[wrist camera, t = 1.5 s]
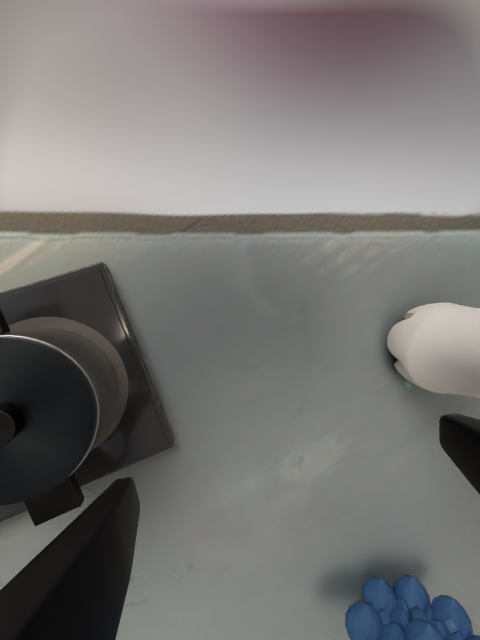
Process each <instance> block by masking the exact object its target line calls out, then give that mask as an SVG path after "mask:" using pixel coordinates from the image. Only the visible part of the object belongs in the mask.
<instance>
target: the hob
mask: <svg viewBox="0 0 480 640" xmlns="http://www.w3.org/2000/svg"><path fill="white" fill-rule="evenodd" d="M0 309H1V311H2V313H3V315H4V318H5V320H6V322H7V324H8V327H9V329H10V332H8V333H12V332H19V331H25V330H31V329H38V328H59V329H65V330H69V331H72V332H75V333H78V334H80V335H82V336H84V337H86V338H88V339H89V340H91V341H92V342H94V343H95V344H96V345H97V346H98V347H99V348H100V349H101V350H102V351H103V352H104V353H105V354H106V356H107V357H108V359H109V360H110V362H111V364H112V366H113V368H114V372H115V375H116V380H117V399H116V403H115V407H114V409H113V412H112V414H111V416H110V418H109V420H108V422H107V423H106V425H105V427H104V428H103V430H102V432H101V433H100V435H99V437H98V438H97V440H96V442H95V443H94V445H93V447H92V448H91V450H90V452H89V453H88V455H87V457H86V458H85V459H84V461H83V462H82V463H81V465H80V466H79V467H78V468H77V469H76V470H75V471H74V472H73V473H74V475H75V477H76V480H77V482H78V484H79V486H80V487H81V486H83V485H86V484H88V483H90V482H92V481H95V480H97V479H99V478H102V477H104V476H106V475H108V474H111V473H113V472H115V471H118V470H120V469H122V468H125V467H127V466H129V465H131V464H134V463H136V462H138V461H141V460H143V459H145V458H147V457H150V456H152V455H154V454H157V453H159V452H161V451H163V450H166V449H168V448H170V447H173V446H174V437H173V435H172V432H171V430H170V427H169V424H168V422H167V419H166V417H165V414H164V412H163V409H162V407H161V404H160V402H159V399H158V397H157V394H156V391H155V389H154V386H153V384H152V381H151V379H150V376H149V374H148V371H147V369H146V366H145V364H144V361H143V359H142V356H141V353H140V351H139V348H138V346H137V343H136V341H135V338H134V336H133V333H132V331H131V328H130V326H129V323H128V320H127V318H126V315H125V313H124V310H123V308H122V305H121V303H120V300H119V298H118V295H117V293H116V290H115V287H114V285H113V282H112V280H111V277H110V275H109V272H108V270H107V267H106V265H105V264H104V263H102V262H100V263H97V264H94V265H90V266H87V267H84V268H80V269H77V270H74V271H71V272H67V273H64V274H61V275H58V276H54V277H51V278H48V279H44V280H41V281H38V282H35V283H31V284H28V285H25V286H21V287H18V288H15V289H12V290H8V291H5V292H2V293H0ZM5 334H6V333H5ZM26 510H27V508H26V506H25V504H24V502H19V503H15V504H9V505H1V506H0V522H1V521H3V520H5V519H8V518H10V517H12V516H15V515H17V514H19V513H22V512H24V511H26Z"/></svg>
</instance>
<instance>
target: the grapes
mask: <svg viewBox="0 0 480 640" xmlns="http://www.w3.org/2000/svg"><path fill="white" fill-rule="evenodd" d="M393 588H394V589H393ZM393 588H392V587H391V585H390V584H389V583H388V582H387V581H386V580H384V579H382V578H380V577H372V578H370V579H368V580H367V581H366V582H365V584H364V586H363V588H362V598H363V601H357V602H355V603H353V604H351V605H350V606H349V608H348V610H347V612H346V615H345V626H346V629H347V632H348V635H349V638H350V639H351V640H480V636H478V635H472V634H473V629H472V625H471V620H470V618H469V616H468V615H467V613H466V611H465V609H464V608H463V607H462V606H461V605H460V604H459V602H458V601H457V600H455V599H454V598H452V597H450V596H447V595H439V596H438V597H436V598H434V599H433V602H432V604H431V606H430V599H429V595H428V593H427V591H426V589H425V587H424V586H423V585H422V584H421V582H420V581H419V580H418V579H416V578H415V577H413V576H411V575H403V576H401V577H399V578H397V579H396V582H395V584H394V586H393Z"/></svg>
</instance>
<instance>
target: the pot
mask: <svg viewBox="0 0 480 640" xmlns="http://www.w3.org/2000/svg"><path fill="white" fill-rule="evenodd" d="M8 332H10V329H9V327H8V324H7V322H6V320H5V318H4V315H3V313H2V311H1V309H0V506H1V505H9V504H15V503H19V502H24V504H25V506H26V508H27V510H28V512H29V514H30V516H31V519H32V521H33V523H34V525H35V526H37V525H39V524H41V523H44V522H46V521H48V520H50V519H53V518H55V517H57V516H59V515H61V514H64V513H66V512H68V511H70V510H73V509H75V508H77V507H79V506H81V505H82V503H83V501H84V495H83V493H82V491H81V489H80V486H79V484H78V482H77V480H76V477H75V475H74V473H73V472H74V471H75V470H76V469H77V468H78V467H79V466H80V465H81V463H82V462H83V461H84V459H85V458H86V457H87V455H88V453H89V452H90V450H91V448H92V447H93V445H94V443H95V442H96V440H97V438H98V437H99V435H100V433H101V432H102V430H103V428H104V427H105V425H106V423H107V422H108V420H109V418H110V416H111V414H112V412H113V409H114V407H115V403H116V399H117V380H116V375H115V372H114V368H113V366H112V364H111V362H110V360H109V359H108V357H107V356H106V354H105V353H104V352H103V351H102V350H101V349H100V348H99V347H98V346H97V345H96V344H95V343H94V342H92V341H91V340H89V339H88V338H86V337H84V336H82V335H80V334H78V333H75V332H72V331H69V330H65V329H59V328H38V329H31V330H25V331H19V332H12V333H8ZM5 333H6V334H5Z"/></svg>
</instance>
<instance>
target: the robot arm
mask: <svg viewBox="0 0 480 640" xmlns="http://www.w3.org/2000/svg"><path fill="white" fill-rule="evenodd" d="M439 437H440V444H441V446H442V448H443V450H444V451H445V452H446V454H447V455H448V456H449V457H450V458H451V460H452V461H453V462H454V463H455V465H456V466H457V467H458V468H459V470H460V471H461V472H462V473H463V475H464V476H465V477H466V478H467V480H468V481H469V482H470V483H471V485H472V486H473V487H474V488H475V489H476V491H477V492H478V493H479V494H480V420H479V419H475V418H472V417H468V416H464V415H460V414H456V413H453V414H448V415H443V416H441V417H440V420H439ZM139 513H140V502H139V498H138V494H137V490H136V487H135V483H134V480H133V479H132V478H131V477H127V478H122V479H118V480H116V481H115V482H113V483H112V484H111V485H110V486H109V487H108V488H107V489H106V490H105V491H104V492H103V493H102V494H101V495H100V496H99V497H98V498H97V499H96V500H95V501H94V502H93V503H91V504H90V505H89V506H88V507H87V508H86V509H85V510H84V511H83V512H82V513H81V514H80V515H79V516H78V517H77V518H76V519H75V520H74V521H73V522H72V523H71V524H69V525H68V526H67V527H66V528H65V529H64V530H63V531H62V532H61V533H60V534H59V535H58V536H57V537H56V538H55V539H54V540H53V541H52V542H51V543H50V544H49V545H47V546H46V547H45V548H44V549H43V550H42V551H41V552H40V553H39V554H38V555H37V556H36V557H35V558H34V559H33V560H32V561H31V562H30V563H29V564H28V565H26V566H25V567H24V568H23V569H22V570H21V571H20V572H19V573H18V574H17V575H16V576H15V577H14V578H13V579H12V580H11V581H10V582H9V583H8V584H7V585H6V586H4V587H3V588H2V589H1V590H0V640H115V639H116V635H117V631H118V627H119V622H120V618H121V614H122V610H123V606H124V601H125V597H126V593H127V589H128V584H129V580H130V575H131V569H132V563H133V556H134V549H135V542H136V534H137V527H138V520H139Z"/></svg>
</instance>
